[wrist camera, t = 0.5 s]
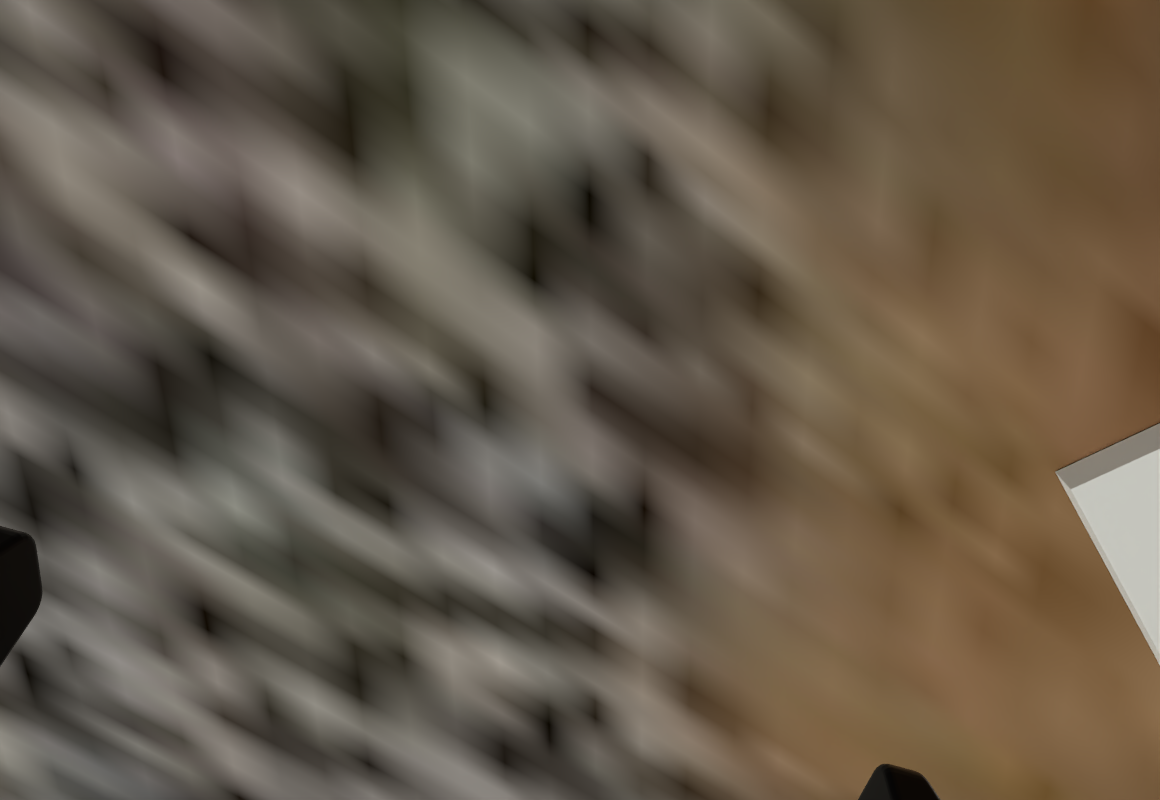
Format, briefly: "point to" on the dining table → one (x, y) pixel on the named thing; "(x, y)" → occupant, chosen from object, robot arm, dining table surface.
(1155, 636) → the board
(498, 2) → the dining table surface
